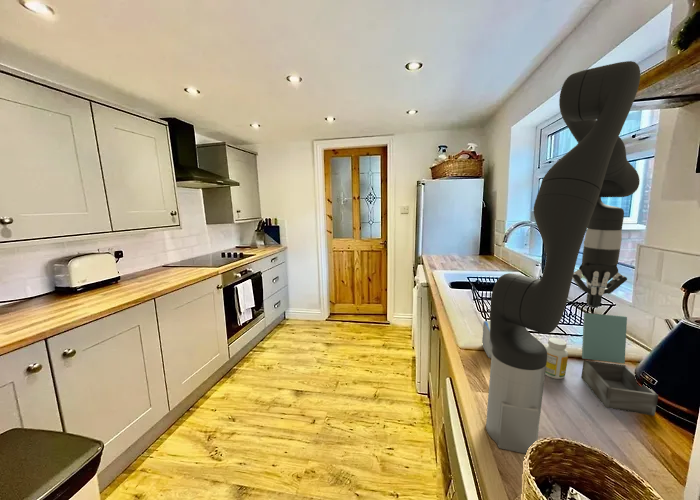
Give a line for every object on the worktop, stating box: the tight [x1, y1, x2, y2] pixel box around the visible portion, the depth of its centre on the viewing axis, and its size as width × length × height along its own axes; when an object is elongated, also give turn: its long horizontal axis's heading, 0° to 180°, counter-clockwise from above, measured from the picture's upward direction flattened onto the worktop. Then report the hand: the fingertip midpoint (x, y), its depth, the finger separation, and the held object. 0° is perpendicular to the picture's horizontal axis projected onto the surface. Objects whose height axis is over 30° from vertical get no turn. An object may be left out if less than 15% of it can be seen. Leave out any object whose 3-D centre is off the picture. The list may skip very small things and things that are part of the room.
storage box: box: [580, 359, 659, 417], centre depth 71 cm, size 12×9×5 cm
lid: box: [581, 312, 628, 365], centre depth 77 cm, size 12×9×1 cm
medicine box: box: [481, 320, 492, 359], centre depth 91 cm, size 8×4×9 cm, turn 168°
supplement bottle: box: [544, 337, 569, 380], centre depth 80 cm, size 5×5×10 cm
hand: (592, 306), depth 83 cm, fingers closed
